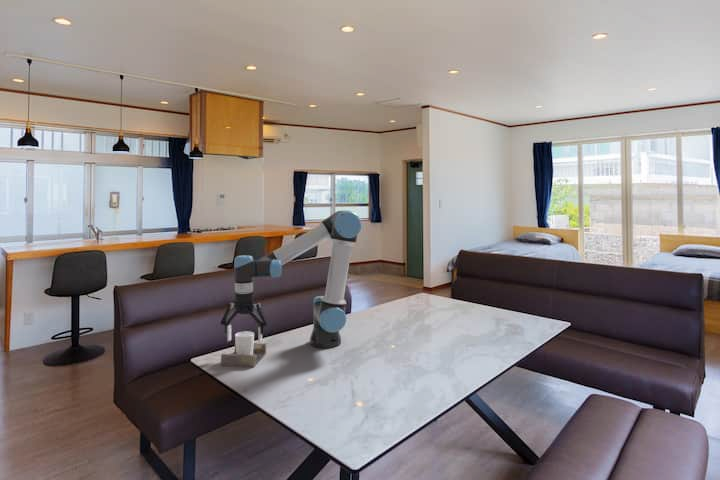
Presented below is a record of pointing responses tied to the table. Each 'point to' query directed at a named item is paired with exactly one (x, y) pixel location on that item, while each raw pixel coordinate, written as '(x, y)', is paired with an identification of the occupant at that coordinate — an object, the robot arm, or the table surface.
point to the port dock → (244, 357)
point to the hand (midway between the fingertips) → (244, 341)
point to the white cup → (244, 343)
